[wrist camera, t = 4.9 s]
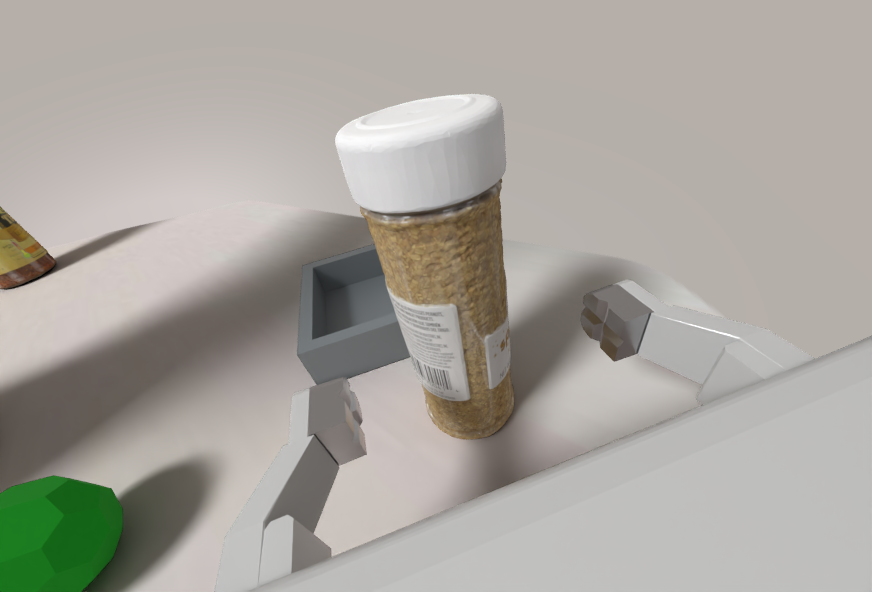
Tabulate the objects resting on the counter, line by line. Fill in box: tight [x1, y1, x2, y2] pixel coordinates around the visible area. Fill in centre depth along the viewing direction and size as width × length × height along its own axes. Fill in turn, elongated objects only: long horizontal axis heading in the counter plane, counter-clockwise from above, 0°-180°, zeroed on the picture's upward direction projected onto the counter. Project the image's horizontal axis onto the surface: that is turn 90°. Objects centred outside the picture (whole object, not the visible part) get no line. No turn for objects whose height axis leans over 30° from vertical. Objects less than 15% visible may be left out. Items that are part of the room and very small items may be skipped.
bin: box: [297, 244, 410, 385], centre depth 23 cm, size 10×10×3 cm
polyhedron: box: [0, 475, 123, 592], centre depth 12 cm, size 5×5×5 cm
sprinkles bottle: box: [335, 94, 514, 439], centre depth 13 cm, size 5×5×14 cm
